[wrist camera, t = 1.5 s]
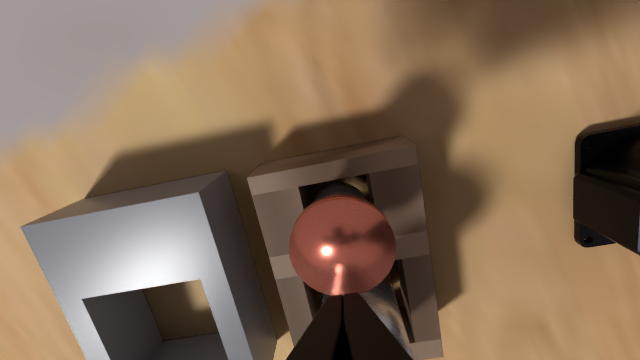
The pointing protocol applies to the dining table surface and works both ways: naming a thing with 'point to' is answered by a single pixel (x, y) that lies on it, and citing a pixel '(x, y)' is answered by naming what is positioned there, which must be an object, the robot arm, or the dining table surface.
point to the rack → (154, 270)
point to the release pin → (342, 242)
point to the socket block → (385, 193)
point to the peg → (386, 310)
